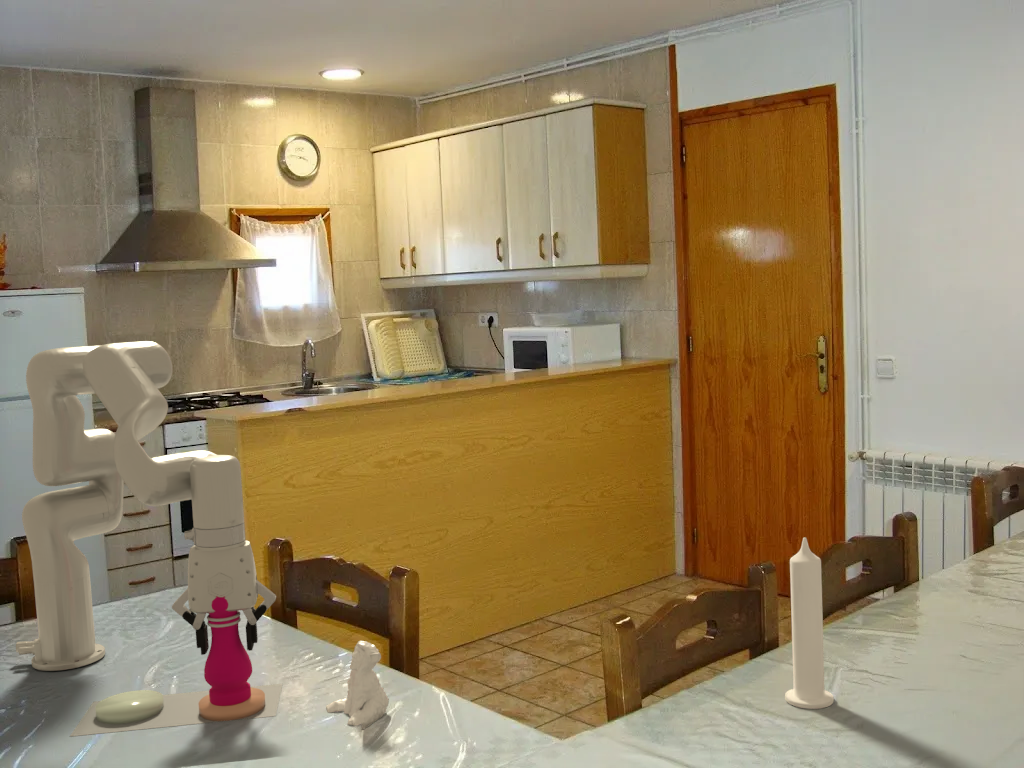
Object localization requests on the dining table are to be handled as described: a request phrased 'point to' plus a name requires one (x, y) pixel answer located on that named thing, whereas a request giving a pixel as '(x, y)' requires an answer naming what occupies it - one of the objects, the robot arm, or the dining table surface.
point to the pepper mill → (226, 658)
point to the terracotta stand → (232, 707)
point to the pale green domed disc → (129, 707)
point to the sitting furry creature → (363, 688)
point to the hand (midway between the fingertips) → (227, 648)
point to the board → (173, 713)
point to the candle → (807, 632)
